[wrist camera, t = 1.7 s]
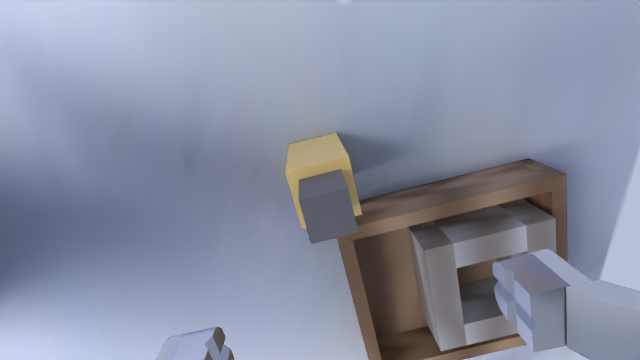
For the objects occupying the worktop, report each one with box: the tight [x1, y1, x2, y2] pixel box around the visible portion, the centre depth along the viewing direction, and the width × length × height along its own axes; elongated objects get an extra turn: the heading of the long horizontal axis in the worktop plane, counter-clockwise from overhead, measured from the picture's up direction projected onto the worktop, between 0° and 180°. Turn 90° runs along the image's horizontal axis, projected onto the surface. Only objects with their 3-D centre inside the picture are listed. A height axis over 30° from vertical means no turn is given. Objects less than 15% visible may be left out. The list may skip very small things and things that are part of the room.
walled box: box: [337, 159, 567, 360], centre depth 27 cm, size 16×14×5 cm
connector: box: [285, 132, 362, 244], centre depth 21 cm, size 4×4×10 cm
